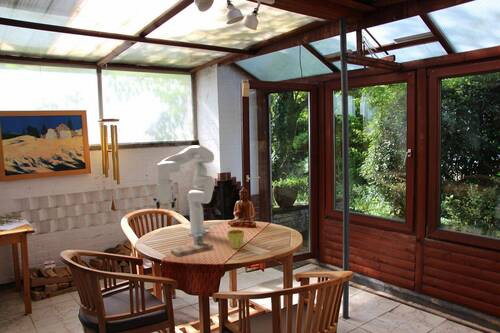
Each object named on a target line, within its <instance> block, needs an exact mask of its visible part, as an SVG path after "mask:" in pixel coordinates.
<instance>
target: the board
mask: <svg viewBox="0 0 500 333" xmlns="http://www.w3.org/2000/svg"><path fill="white" fill-rule="evenodd" d="M213 249H214V245H213V244H210V243H209V245H207V246H206V245H203V244H197V245H194V244H193V245H188V246H183V247H178V248H174V249H171V250H170V254H172V255H174V256H176V257H182V256H186V255H190V254H195V253H200V252H205V251H208V250H213Z"/></svg>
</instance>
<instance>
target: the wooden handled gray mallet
mask: <svg viewBox="0 0 500 333" xmlns="http://www.w3.org/2000/svg"><path fill="white" fill-rule="evenodd" d="M204 235H205V234H198V235H193V245H197V244H203V245H206V246H207V245H209V244H210V243H209V242H207V241H205V238H204V237H205V236H204Z"/></svg>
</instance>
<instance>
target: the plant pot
mask: <svg viewBox="0 0 500 333" xmlns="http://www.w3.org/2000/svg"><path fill="white" fill-rule="evenodd" d="M244 237H245V231H244V230H242V229H232V230H229V231H227V238H228V240H229V244H230V248H231V249H240V248H242V246H243V241H244Z"/></svg>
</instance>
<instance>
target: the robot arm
mask: <svg viewBox="0 0 500 333" xmlns="http://www.w3.org/2000/svg"><path fill="white" fill-rule="evenodd" d="M214 160H215V154H214V153H213V151H212V150H210V149H208V147H207V148H206V147H205V146H203V145H190V146H188V147H186V148H184V149H183V150H181V151H180V152H178V153H176V154H173V155H171V156H168V157H166V158H164V159H162V161H160V162H159V163H157V166H156V167H157V179H158V180H157V183H158V184H157V186H156V193H155V194H153V195H152V196H151V198H152V199H153V201H154V202H155V205H156V208H157V209H156V210H159V209H160V208H161V207H160V206H161V205H160V201H163V200H165V201H166V200H167V201H168V200H169V201H171V209H175V207H176V204H175V203H176V201H177V199H178V198H179V194H177V193H174V188H173V184H172V182H173V179H171V174H176V173H179V172H180V170H181V166H184V165H186V164H188V163H189V162H190V161H192V162H193V164H194V166H195V171H194V177H193V181H192V187H193V188H194V189H191V190H190V191H188V193H187V200H188V206H189V220H190V221H189V222H190V223H189V224H190V230H189V231H188V235H191V236H194V235H198V234H202V235H205V234H206V233H207V231H206V230H210V226H209V225H208V226H205V224H204V223H205V222H204V208H203V205H202V204H206V205H207V204H210V202H211V200H212V197H213V192H214V189H215V188H214V187H215V180H214V177H213V176H211V175H207V173H208V168H207V166H206V165H205V164H209V163H210V164H211V163H213V162H214Z"/></svg>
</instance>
